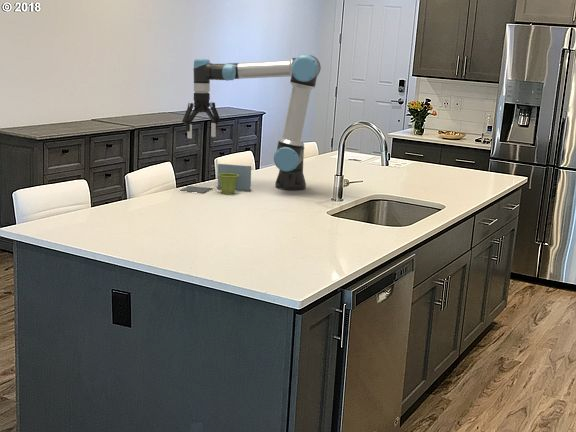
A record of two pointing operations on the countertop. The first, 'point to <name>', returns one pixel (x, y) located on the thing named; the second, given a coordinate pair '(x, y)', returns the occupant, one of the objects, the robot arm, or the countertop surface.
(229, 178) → the plant pot
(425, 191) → the countertop surface
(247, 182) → the screen
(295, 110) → the robot arm
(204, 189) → the mat
